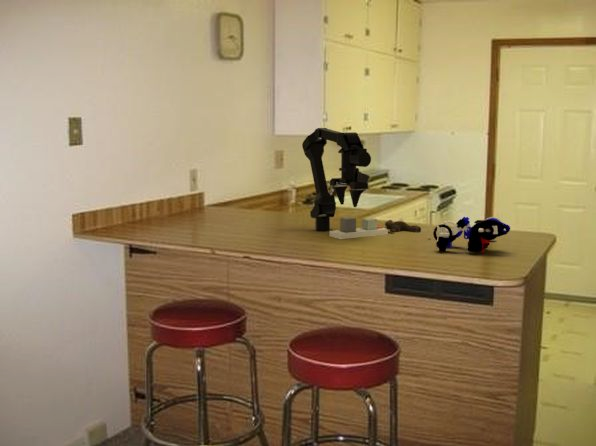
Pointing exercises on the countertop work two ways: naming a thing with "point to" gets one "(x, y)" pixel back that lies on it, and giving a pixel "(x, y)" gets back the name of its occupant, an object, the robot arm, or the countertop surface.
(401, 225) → the faucet
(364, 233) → the power strip
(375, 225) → the lamp plug
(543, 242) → the countertop surface
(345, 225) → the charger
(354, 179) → the robot arm
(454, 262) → the countertop surface
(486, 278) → the countertop surface
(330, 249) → the countertop surface
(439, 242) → the robot toy
